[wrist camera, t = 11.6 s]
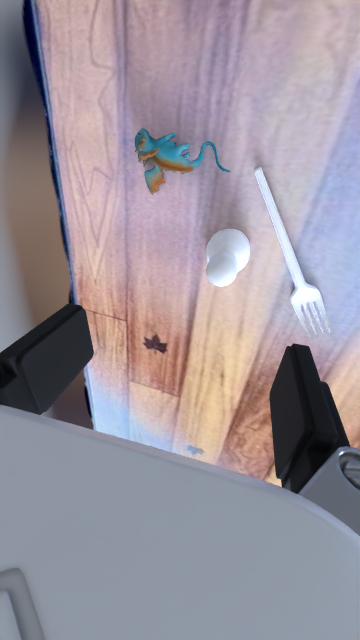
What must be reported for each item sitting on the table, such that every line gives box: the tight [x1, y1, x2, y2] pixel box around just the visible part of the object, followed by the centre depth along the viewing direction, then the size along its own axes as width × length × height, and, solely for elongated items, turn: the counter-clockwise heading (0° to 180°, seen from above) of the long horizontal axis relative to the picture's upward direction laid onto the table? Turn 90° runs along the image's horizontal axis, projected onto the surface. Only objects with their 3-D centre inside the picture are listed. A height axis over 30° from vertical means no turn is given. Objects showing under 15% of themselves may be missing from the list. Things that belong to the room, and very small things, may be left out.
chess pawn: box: [205, 228, 250, 287], centre depth 24 cm, size 5×5×9 cm
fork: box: [254, 166, 330, 338], centre depth 26 cm, size 3×20×2 cm, turn 30°
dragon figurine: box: [135, 128, 231, 195], centre depth 24 cm, size 6×7×8 cm
